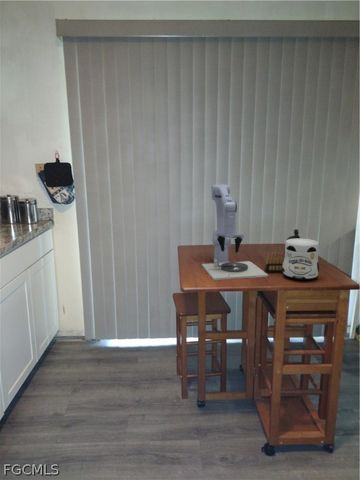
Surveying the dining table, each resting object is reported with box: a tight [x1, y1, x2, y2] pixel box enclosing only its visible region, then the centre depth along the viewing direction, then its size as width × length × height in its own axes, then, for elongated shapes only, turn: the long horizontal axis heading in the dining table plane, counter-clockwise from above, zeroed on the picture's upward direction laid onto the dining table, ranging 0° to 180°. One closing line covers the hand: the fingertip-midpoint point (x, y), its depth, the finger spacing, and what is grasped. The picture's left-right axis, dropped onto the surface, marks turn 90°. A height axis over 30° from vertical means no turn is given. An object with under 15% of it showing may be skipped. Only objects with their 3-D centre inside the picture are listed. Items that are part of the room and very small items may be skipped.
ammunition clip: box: [264, 251, 285, 273], centre depth 193 cm, size 11×2×12 cm, turn 89°
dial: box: [213, 258, 248, 272], centre depth 197 cm, size 18×14×5 cm
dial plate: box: [201, 260, 269, 281], centre depth 197 cm, size 26×28×1 cm
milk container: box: [282, 237, 320, 281], centre depth 184 cm, size 17×17×18 cm
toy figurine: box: [284, 228, 301, 244], centre depth 225 cm, size 9×19×25 cm
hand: (229, 251), depth 192 cm, fingers open, 7 cm apart
